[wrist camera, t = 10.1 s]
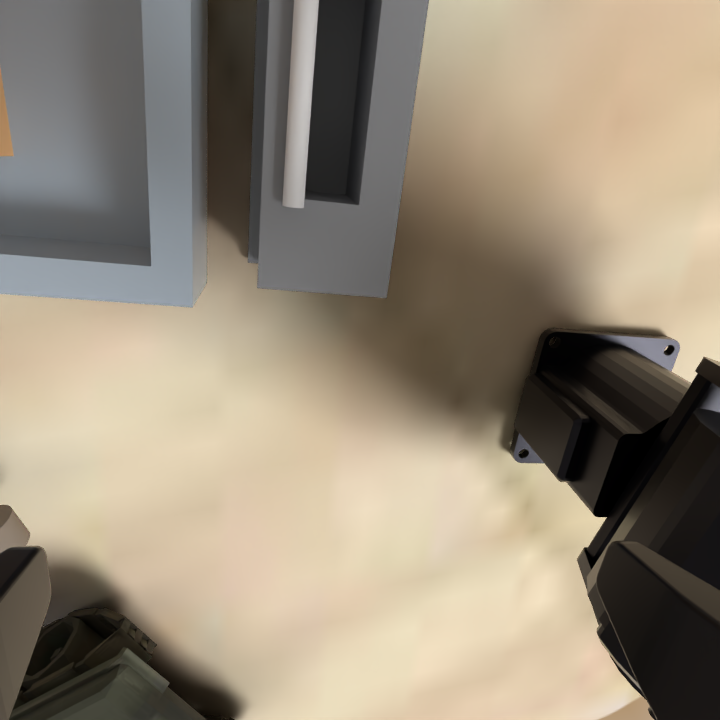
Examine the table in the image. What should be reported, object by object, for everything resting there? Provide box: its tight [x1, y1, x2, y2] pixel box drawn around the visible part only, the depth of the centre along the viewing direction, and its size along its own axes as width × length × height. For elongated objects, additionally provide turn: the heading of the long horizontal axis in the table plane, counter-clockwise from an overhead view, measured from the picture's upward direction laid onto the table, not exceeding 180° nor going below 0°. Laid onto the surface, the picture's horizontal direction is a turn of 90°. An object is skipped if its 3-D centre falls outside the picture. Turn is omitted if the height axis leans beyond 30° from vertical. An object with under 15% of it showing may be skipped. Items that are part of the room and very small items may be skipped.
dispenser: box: [248, 0, 429, 298], centre depth 15 cm, size 5×12×5 cm, turn 174°
